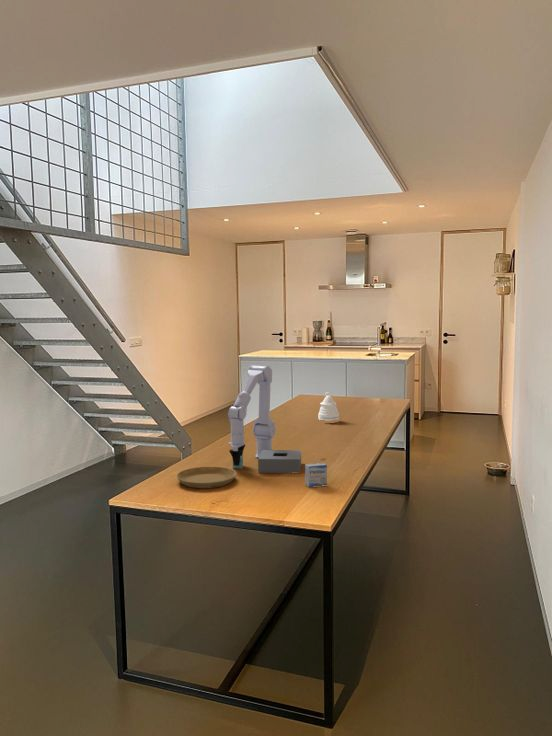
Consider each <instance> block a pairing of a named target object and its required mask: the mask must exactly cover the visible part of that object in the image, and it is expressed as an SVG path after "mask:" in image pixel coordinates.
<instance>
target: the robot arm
mask: <svg viewBox="0 0 552 736" xmlns="http://www.w3.org/2000/svg"><path fill="white" fill-rule="evenodd" d="M272 382H273V369H272V367H270V365H254V364H251V365H250V366H249V367H248V370H247V380H246V382H245V386H244V388H243V391H241V392H239V393H238V395H237V397H236V400H235V402H234V403H233V405H232V406H230V407H229V409H228V410H227V411H228V412H227V416H228V419H229V420H228V421H229V423H230V441H229V442H227V443H228V445H230V446H231V447H232V448H231V449H229V453H230V455H231V459H232V464H233V463H234V466H239V463H240V457H241V455H244V450H245V447H246V444H245V432H244V431H245V426H244V425H245V424H244V420H245V418H246V417H247V412H248V411H247V410H248V405H249V403H250V401H251V399H252V398H251V394H252V392H253V391H254V389H255V388H256V385H257V384H258V385H259V389H258V390H259V393H258V394H259V395H258V418H256V419H255V420H254V422H253V427H252V434H253V436H255V437H254V438H256V454H255V457H254V458H257V459H258V458H259V456H260V453H261V451H262V450H273V447H272V446H273V438H274V436H275V435H276V424H275V421H274V420H273V419H272V418H271V416H270V413H271V412H270V411H271V384H272Z"/></svg>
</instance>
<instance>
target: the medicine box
mask: <svg viewBox="0 0 552 736" xmlns="http://www.w3.org/2000/svg"><path fill="white" fill-rule="evenodd" d="M304 484H305V486H306V485H307V486H306V487H308V488H309V487H313V486H322V485H327V486H328V465H327V464H326V463H325V462H317V463H315V462H314V463H305V464H304ZM322 487H323V486H322ZM313 488H314V487H313Z"/></svg>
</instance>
